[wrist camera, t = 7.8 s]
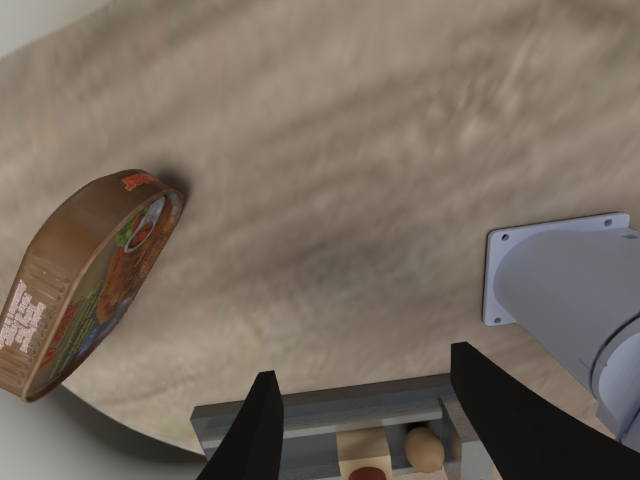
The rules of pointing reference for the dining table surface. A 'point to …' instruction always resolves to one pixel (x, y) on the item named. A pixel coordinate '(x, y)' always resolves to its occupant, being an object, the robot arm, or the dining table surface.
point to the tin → (82, 277)
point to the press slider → (364, 454)
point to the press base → (356, 413)
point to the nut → (424, 450)
